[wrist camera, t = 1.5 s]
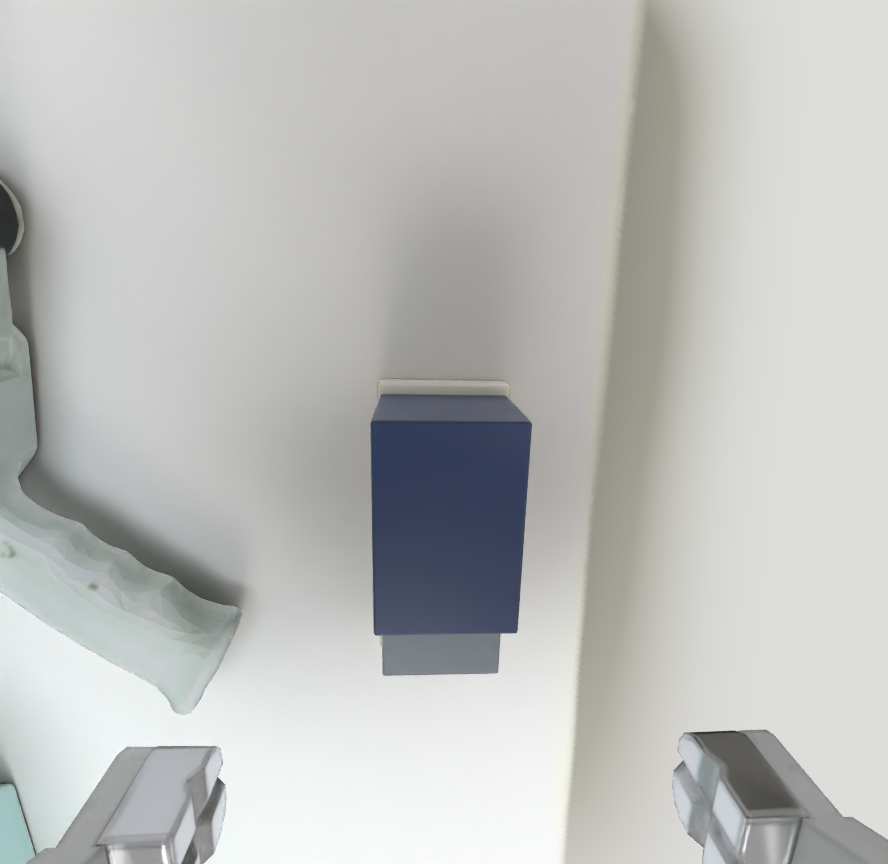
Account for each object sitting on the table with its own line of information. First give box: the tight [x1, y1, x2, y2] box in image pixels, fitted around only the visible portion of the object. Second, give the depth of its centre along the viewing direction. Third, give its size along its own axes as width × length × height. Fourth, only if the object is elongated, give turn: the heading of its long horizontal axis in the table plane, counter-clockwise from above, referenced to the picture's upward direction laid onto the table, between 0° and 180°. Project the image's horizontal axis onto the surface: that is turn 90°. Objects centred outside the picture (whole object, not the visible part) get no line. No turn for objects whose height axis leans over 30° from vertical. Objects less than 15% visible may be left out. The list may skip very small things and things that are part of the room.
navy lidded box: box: [371, 379, 532, 676], centre depth 16 cm, size 10×4×5 cm, turn 179°
